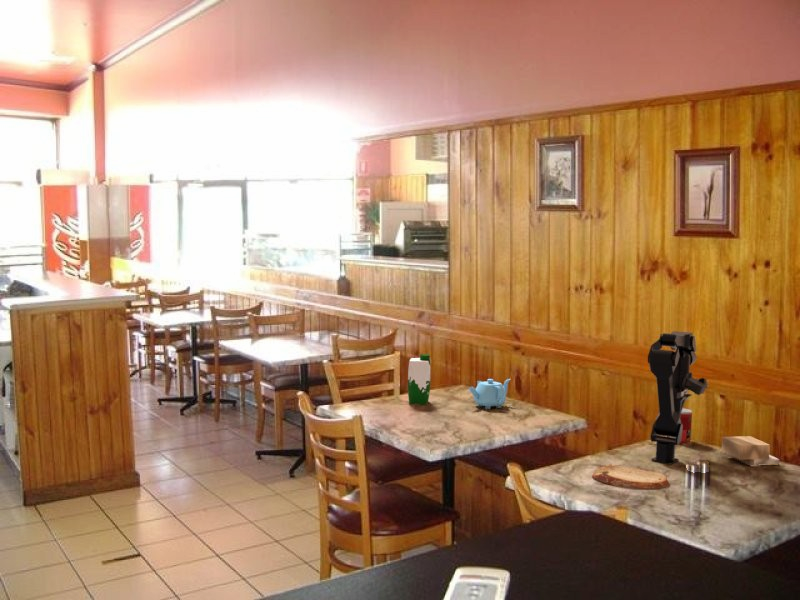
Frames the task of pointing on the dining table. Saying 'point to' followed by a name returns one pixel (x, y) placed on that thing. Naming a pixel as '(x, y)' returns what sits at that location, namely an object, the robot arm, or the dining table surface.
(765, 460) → the board
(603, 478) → the bread slice
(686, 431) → the canned food
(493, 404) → the teapot
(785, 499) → the dining table surface
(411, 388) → the milk carton
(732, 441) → the light brown wooden block
